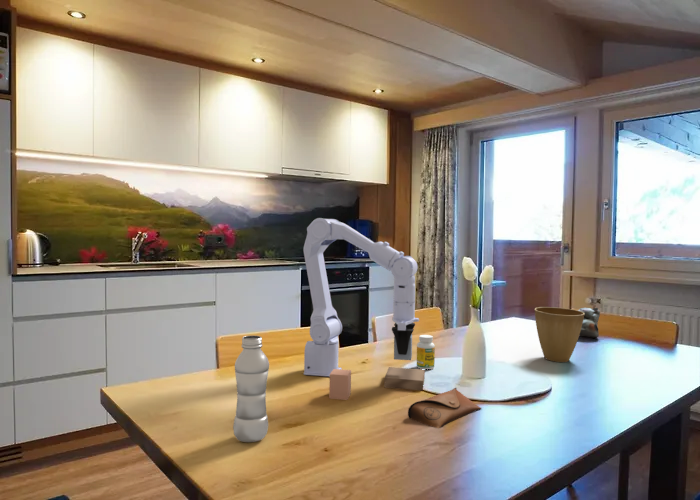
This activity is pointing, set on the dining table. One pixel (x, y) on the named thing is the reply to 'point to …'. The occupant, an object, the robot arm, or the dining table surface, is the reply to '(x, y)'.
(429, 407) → the sunglasses case
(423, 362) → the supplement bottle
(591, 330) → the lucky cat figurine
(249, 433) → the plastic bottle
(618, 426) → the dining table surface
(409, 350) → the slate block
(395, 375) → the walnut base
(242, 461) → the dining table surface
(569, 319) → the plant pot
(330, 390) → the terracotta block
